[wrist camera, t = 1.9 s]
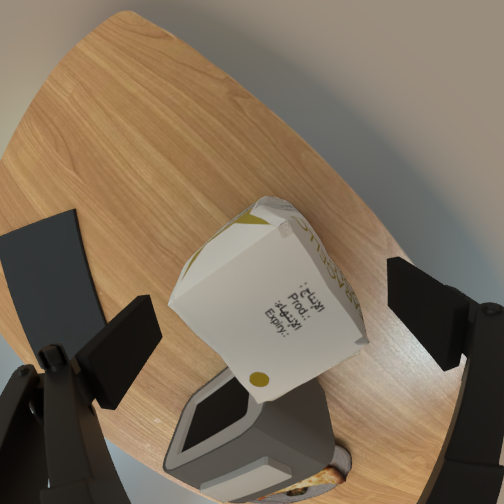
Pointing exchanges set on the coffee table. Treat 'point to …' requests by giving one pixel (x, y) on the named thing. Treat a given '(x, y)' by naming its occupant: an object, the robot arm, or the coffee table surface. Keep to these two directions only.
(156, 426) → the coffee table surface
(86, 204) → the coffee table surface
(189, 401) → the alarm clock
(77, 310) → the drinks mat
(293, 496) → the food plate
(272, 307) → the juice carton
